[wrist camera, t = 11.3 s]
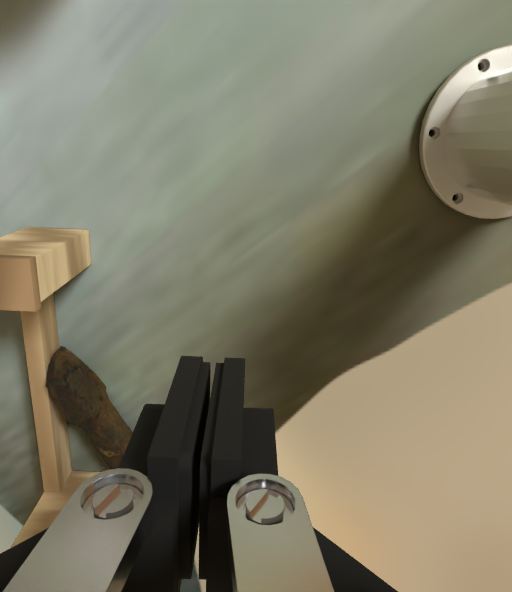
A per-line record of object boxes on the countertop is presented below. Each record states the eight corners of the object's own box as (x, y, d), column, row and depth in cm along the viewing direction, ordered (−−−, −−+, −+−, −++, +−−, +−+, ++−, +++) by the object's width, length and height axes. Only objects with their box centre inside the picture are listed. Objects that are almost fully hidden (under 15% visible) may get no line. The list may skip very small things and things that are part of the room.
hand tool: (182, 485, 46) (175, 521, 42) (148, 498, 47) (137, 534, 42) (90, 332, 41) (70, 355, 36) (52, 348, 41) (28, 373, 37)
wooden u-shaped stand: (90, 227, 37) (29, 259, 27) (110, 497, 46) (69, 596, 36) (25, 224, 37) (-61, 255, 27) (58, 495, 46) (2, 594, 36)
